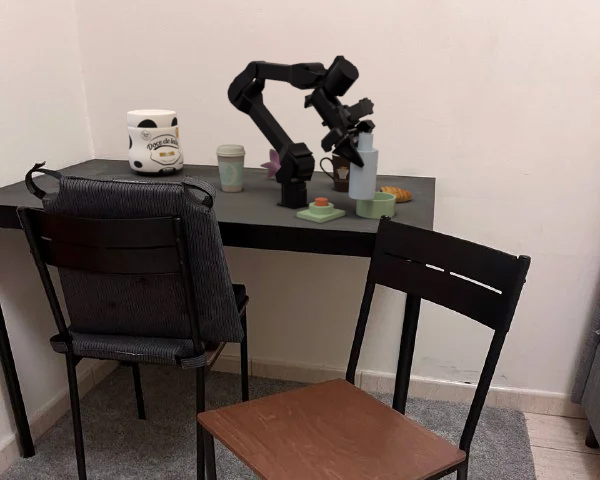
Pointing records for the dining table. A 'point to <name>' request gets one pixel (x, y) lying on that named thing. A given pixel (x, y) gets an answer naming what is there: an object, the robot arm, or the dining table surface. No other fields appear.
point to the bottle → (364, 170)
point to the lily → (272, 164)
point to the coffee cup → (231, 166)
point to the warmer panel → (320, 213)
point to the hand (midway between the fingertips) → (369, 164)
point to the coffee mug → (339, 172)
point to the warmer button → (321, 202)
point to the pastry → (397, 193)
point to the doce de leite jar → (154, 142)
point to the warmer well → (377, 206)
